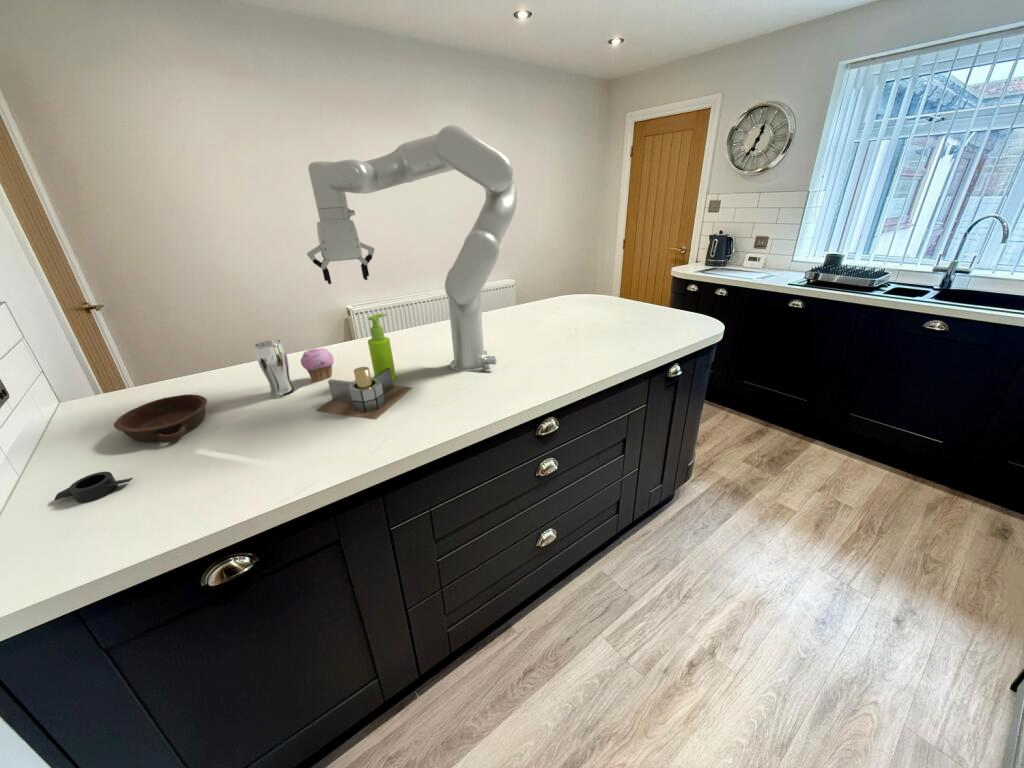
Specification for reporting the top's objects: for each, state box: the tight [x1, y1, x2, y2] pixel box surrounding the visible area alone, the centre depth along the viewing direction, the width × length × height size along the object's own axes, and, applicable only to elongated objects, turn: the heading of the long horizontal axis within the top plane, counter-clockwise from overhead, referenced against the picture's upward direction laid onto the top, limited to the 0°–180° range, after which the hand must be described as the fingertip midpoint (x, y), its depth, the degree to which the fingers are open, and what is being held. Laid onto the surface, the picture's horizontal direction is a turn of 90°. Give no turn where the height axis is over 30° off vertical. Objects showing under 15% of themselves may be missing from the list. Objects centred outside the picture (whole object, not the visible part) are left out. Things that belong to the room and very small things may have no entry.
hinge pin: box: [353, 366, 372, 389], centre depth 99 cm, size 4×4×10 cm
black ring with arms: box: [54, 471, 134, 504], centre depth 74 cm, size 8×10×3 cm
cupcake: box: [300, 347, 334, 383], centre depth 116 cm, size 9×9×10 cm
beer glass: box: [253, 338, 296, 398], centre depth 108 cm, size 7×7×15 cm
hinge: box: [327, 368, 394, 413], centre depth 103 cm, size 15×15×6 cm
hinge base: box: [314, 384, 414, 421], centre depth 104 cm, size 18×18×1 cm
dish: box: [113, 393, 208, 443], centre depth 95 cm, size 18×22×5 cm
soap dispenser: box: [367, 313, 397, 381], centre depth 112 cm, size 6×7×20 cm
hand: (347, 281), depth 110 cm, fingers open, 9 cm apart
